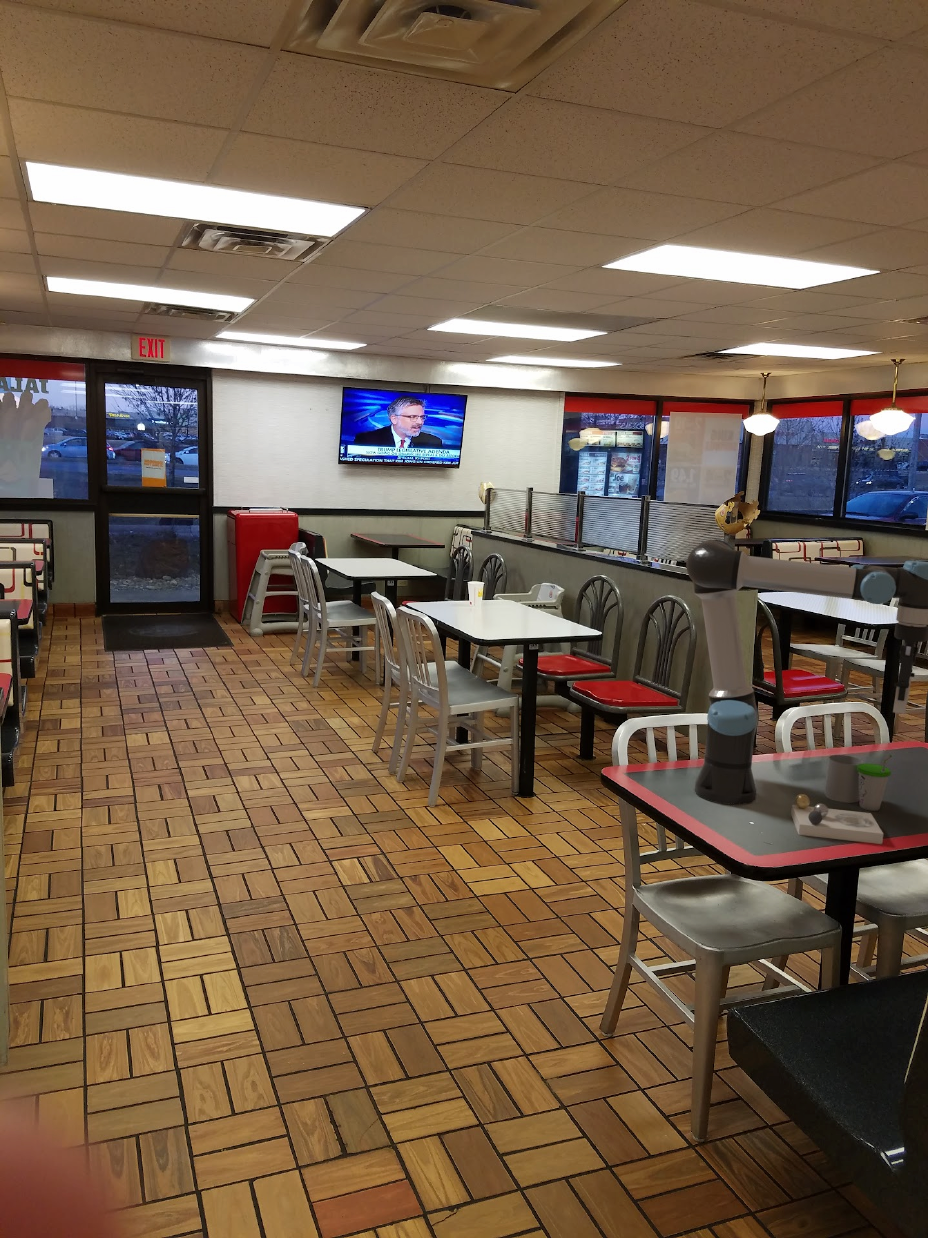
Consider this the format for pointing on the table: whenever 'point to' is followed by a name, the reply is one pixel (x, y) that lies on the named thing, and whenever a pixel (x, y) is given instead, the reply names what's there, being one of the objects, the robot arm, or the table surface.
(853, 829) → the plate
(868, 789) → the cup
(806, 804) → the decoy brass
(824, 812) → the steel ball
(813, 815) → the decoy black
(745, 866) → the table surface
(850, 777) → the cup
